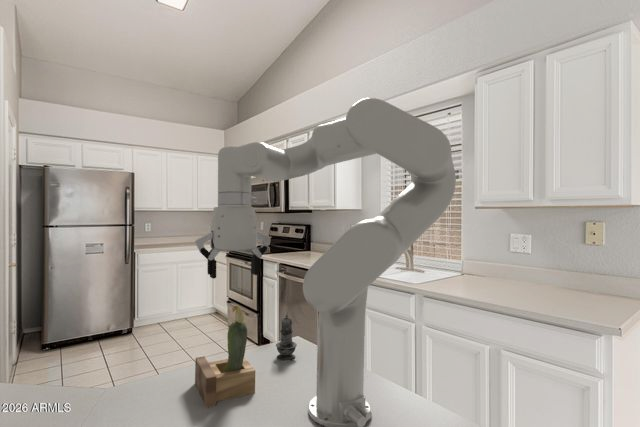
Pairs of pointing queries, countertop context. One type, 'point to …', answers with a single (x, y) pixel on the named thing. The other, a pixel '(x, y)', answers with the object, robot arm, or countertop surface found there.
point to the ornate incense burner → (286, 341)
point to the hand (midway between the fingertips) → (234, 276)
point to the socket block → (233, 380)
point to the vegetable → (236, 341)
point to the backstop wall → (205, 381)
